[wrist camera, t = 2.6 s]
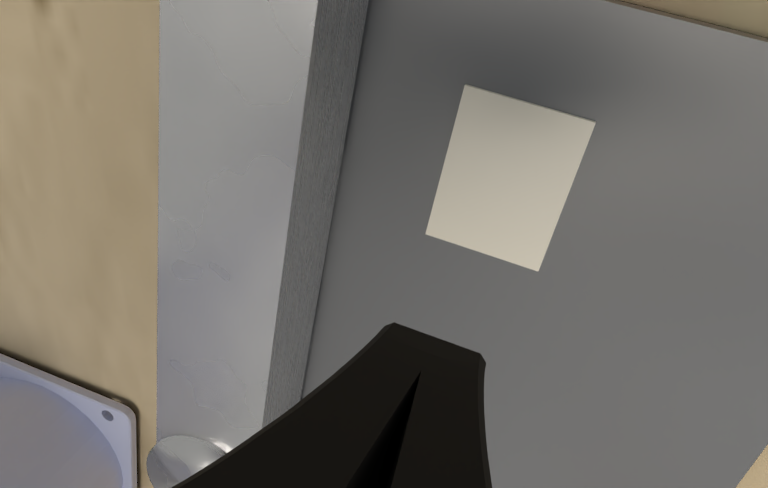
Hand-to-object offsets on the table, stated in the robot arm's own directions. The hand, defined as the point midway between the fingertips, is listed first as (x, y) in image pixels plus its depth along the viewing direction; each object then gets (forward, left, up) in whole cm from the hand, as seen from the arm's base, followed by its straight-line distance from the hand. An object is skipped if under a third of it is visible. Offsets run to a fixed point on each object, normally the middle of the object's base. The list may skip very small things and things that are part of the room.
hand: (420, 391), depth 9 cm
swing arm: (-6, -4, -7) cm, 10 cm away
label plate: (0, -4, -8) cm, 9 cm away
